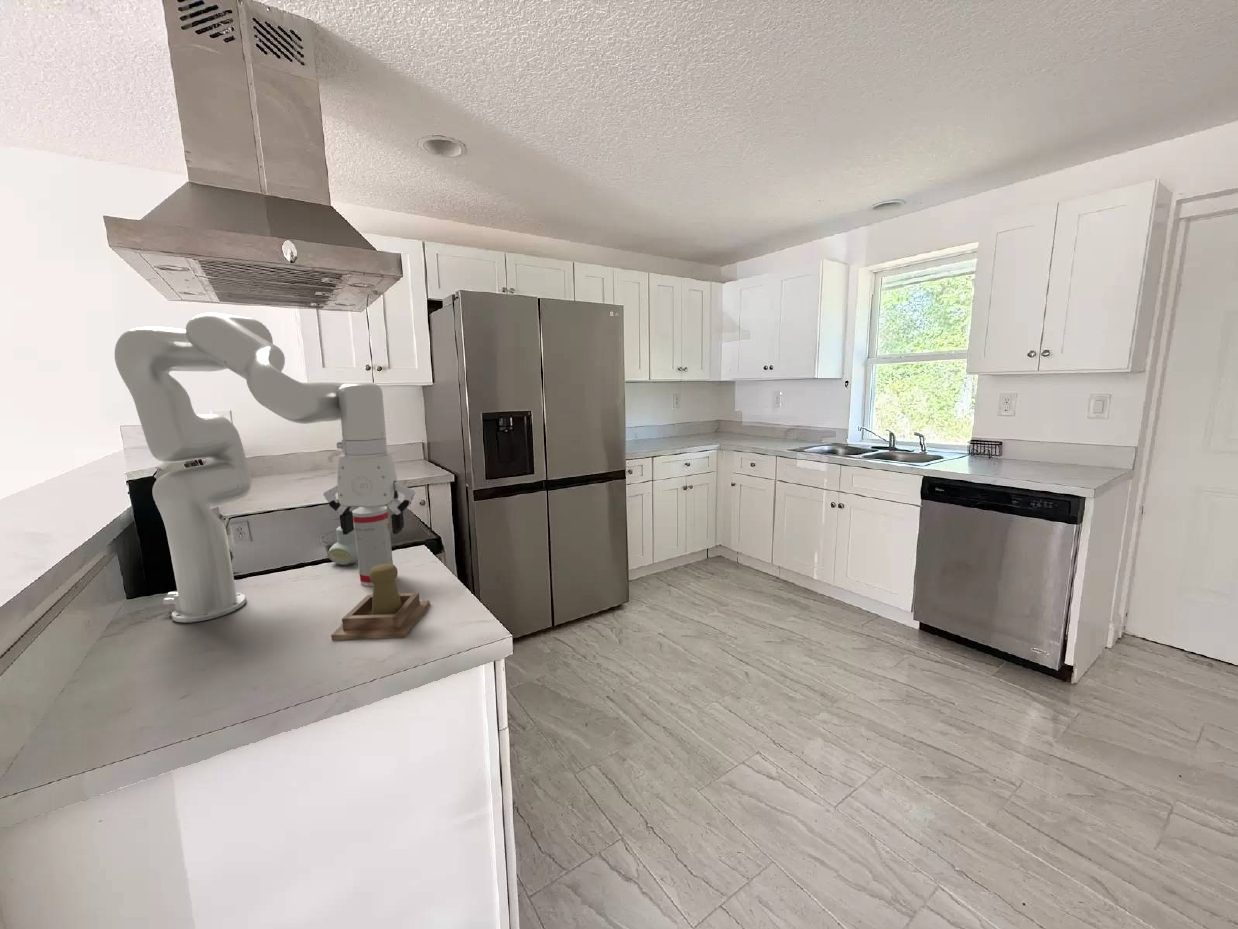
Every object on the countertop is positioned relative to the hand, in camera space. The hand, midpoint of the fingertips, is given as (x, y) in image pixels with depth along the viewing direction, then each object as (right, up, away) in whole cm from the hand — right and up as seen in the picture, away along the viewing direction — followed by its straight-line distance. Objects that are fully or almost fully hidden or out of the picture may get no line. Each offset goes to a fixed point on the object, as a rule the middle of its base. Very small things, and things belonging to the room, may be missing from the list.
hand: (373, 532), depth 99 cm
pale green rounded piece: (-25, -13, +38) cm, 47 cm away
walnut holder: (+1, -19, +3) cm, 19 cm away
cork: (+2, -18, +3) cm, 18 cm away
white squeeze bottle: (-11, -16, +25) cm, 31 cm away
